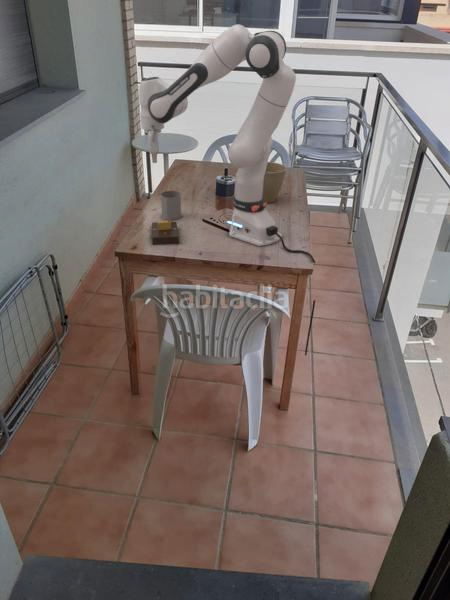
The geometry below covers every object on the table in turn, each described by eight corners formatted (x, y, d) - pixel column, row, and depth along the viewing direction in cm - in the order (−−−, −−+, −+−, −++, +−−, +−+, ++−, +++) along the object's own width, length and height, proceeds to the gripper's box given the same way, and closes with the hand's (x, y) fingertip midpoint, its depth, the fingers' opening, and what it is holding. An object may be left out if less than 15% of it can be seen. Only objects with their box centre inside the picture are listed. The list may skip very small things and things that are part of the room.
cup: (173, 210, 209) (172, 189, 203) (185, 216, 204) (184, 194, 198) (157, 215, 204) (156, 193, 198) (170, 221, 199) (169, 199, 193)
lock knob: (158, 230, 185) (158, 222, 183) (158, 228, 186) (157, 220, 184) (171, 229, 185) (170, 221, 183) (170, 228, 187) (170, 220, 185)
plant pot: (267, 208, 213) (270, 174, 204) (245, 199, 222) (246, 165, 213) (289, 201, 222) (293, 167, 213) (267, 192, 231) (269, 159, 222)
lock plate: (178, 243, 182) (178, 236, 180) (152, 244, 181) (152, 237, 179) (176, 228, 194) (176, 221, 192) (152, 229, 192) (151, 222, 191)
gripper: (161, 129, 173) (163, 166, 181) (160, 116, 190) (161, 151, 197) (144, 129, 172) (146, 167, 180) (144, 117, 189) (146, 151, 197)
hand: (154, 158), depth 189 cm, fingers open, 8 cm apart
